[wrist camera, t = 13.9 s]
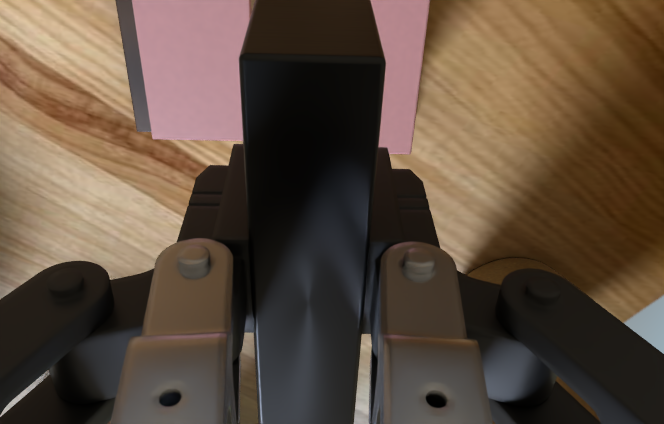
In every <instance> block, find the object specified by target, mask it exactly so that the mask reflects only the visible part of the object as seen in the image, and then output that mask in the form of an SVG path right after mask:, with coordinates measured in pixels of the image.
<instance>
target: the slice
mask: <svg viewBox="0 0 664 424" xmlns="http://www.w3.org/2000/svg"><path fill="white" fill-rule="evenodd" d="M370 1H371V4H372V8H373V12H374V16H375V20H376V24H377V28H378V32H379V36H380V40H381V44H382V48H383V52H384V56H385V60H386V70H385V81H384V92H383V103H382V114H381V125H380V136H379V147H387V148H388V152H389V154H411V150H412V142H413V134H414V126H415V118H416V110H417V102H418V94H419V86H420V78H421V69H422V61H423V53H424V45H425V37H426V29H427V21H428V13H429V5H430V0H370Z"/></svg>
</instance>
